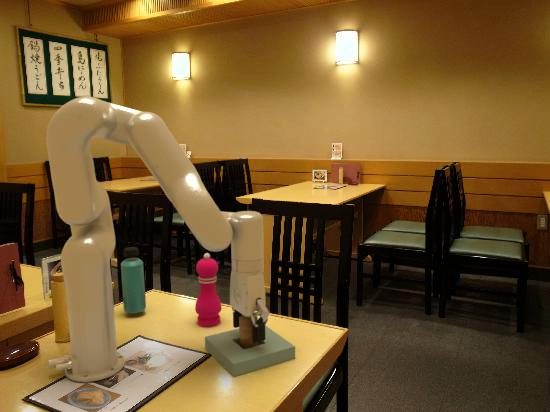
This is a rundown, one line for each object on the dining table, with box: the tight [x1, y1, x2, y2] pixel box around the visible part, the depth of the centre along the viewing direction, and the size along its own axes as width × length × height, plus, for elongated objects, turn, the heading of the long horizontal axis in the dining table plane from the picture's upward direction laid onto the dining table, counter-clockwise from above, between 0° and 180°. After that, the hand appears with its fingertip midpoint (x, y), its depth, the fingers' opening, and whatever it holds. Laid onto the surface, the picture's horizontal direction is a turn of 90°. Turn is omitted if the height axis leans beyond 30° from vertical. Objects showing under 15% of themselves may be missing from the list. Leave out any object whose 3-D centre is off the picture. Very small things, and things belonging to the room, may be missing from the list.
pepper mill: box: [194, 252, 222, 328], centre depth 129 cm, size 7×7×20 cm
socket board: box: [204, 325, 296, 378], centre depth 113 cm, size 16×16×3 cm
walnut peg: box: [238, 315, 259, 349], centre depth 112 cm, size 4×4×9 cm
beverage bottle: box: [120, 246, 147, 314], centre depth 135 cm, size 6×7×20 cm
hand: (248, 333), depth 112 cm, fingers open, 9 cm apart
